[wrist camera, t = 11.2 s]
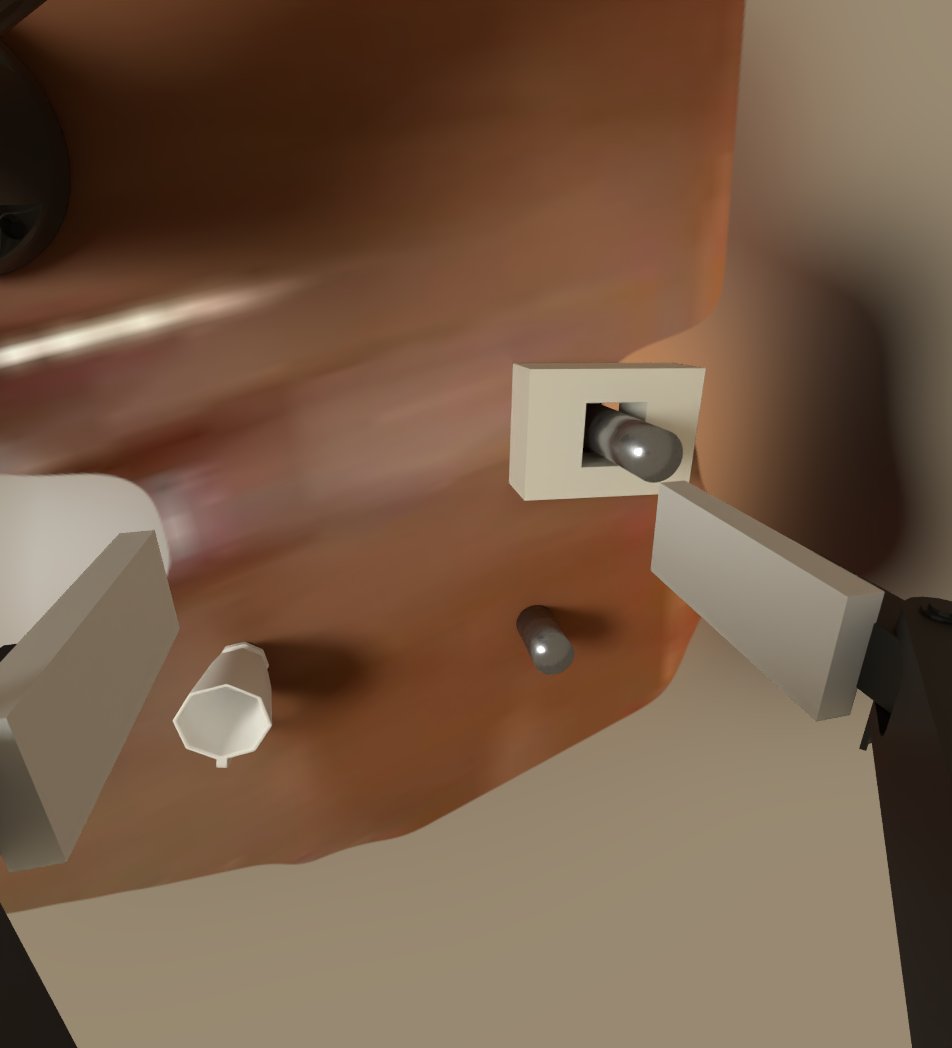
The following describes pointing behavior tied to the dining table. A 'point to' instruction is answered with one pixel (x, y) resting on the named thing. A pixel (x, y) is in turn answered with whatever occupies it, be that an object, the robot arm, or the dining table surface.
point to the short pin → (544, 640)
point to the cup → (228, 705)
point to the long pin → (632, 443)
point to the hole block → (559, 418)
